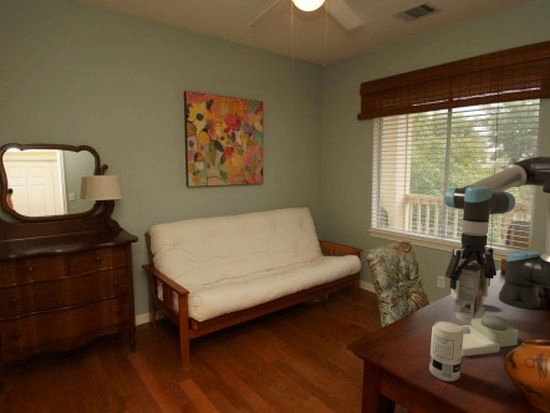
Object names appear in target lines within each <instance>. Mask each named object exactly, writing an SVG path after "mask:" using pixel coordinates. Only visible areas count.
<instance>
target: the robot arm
mask: <svg viewBox="0 0 550 413" xmlns="http://www.w3.org/2000/svg"><path fill="white" fill-rule="evenodd" d="M522 186H539V187H542V193H543V194H544V195H546V196H547V201H546V202H547V203H546V231H545V232H546V234H545V235H546V236H545V238H546V239H545V253H543V254H541V253H540V252H538V251H536V250H535V251H533V250H511V251H508V253H507V257H506V264H505V273H504V274H505V276H504V283H503V285H502V286H501V289H500V291H499V293H498V300H499V301H501V302H502V303H504V304H506V305H509V306H512V307H515V308H520V309H528V310H531V309H533V310H534V309H538V308H540V306H541V299H540V298H539V293H538V288H537V286H540V287H544V288H547V289H550V156H532V157H528V158H525V159H521V160H519V161H516V162H512V163H511V164H508V165H506V166H505V167H503V170H501V171H498V172H496V173H494V174H492V175H489V176H487V177H485V178H482V179H480V180H478V181H476V182H473V183H471V184H468V185H466V186H464V187H460V188H459V187H452V188H451V187H450V188H449V189H447V190H446V192H445V193H444V196H443V197H444V198H443V199H444V203H445V205H446V206H447V207H449V208H453V209H457V210H458V209H459V210H463V216H462V223H461V224H462V226H461V231H462V233H461V238H460V239H461V240H460V243H461V248H459V249H457V248H452V255H451V257H450V260H449V263H448V266H447V267H446V268H447V269H446V271H445V274H444V276H445V277H447V278H448V279H450V280H449V288H450V290H451V291H450V297H451V298H453V299H454V300H455V299H456V300H457V299H458V296H459V284H460V281H459V280H458V278H459V276H460V275H461V273H462V268H463V267H466V265H467V264H469V263H470V262H476V263H478V264H480V265H482V266H484V270H485V275H484V287H483V296H484V297H485V298H488V297H489V296H488V294H489V288H490V285H491V279H492V280H493V279H494V278H495V277H496V276H497V268H496V266H495V265H496V263H495V260H494V248H492V247H491V248H490V247H488V246H487V245H488V235H487V234H489V227H490V226H489V225H490V216H491V215H498V214H499V215H503V214H506V213H510V212H511V211H514V210H513V209H514V208H515V206H516V199H515V196H514V195H513V194H512V193H510V191H509V192H508V191H507V190H510V189H511V188H520V187H522ZM458 266H460V268H458Z"/></svg>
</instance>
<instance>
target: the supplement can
mask: <svg viewBox="0 0 550 413" xmlns="http://www.w3.org/2000/svg"><path fill="white" fill-rule="evenodd" d="M460 326H461V325H458V324H457V323H454V322H451V321H447V320H446V321H445V320H441V321H440V320H439V321H435V323H434V325H433V326H432V327H431V328H432V330H431V340H430V351H429V352H430V354H429V355H430V356H429V371H430V373H431V374H432V375H433V376H434V377H435V378H437V379H439V380H441V381H444V382H455V381H457V380H458V379H460V377H461V368H462V366H461V365H462V358H463V356H462V345H463V332H462V330H461V328H460Z"/></svg>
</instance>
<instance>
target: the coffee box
mask: <svg viewBox="0 0 550 413" xmlns="http://www.w3.org/2000/svg"><path fill="white" fill-rule="evenodd" d="M458 268H460V266H458ZM484 275H485V270H484V266H482V265H480V264H478V263H477V262H476V261H470V263H469V264H467V265H466V267H463V268H462V273H461V275H460V276H459V278H458V280H459V281H460V284H459V296H458V299H457V300H456V299H454V307H453V312H455V313H456V312H458V313H461V314H464V315H468V316H471V317H474V316H475V315H476V314H477V313H478V312H479V311H480V310H481V309H482V307H483V304H482V299H483V287H484Z"/></svg>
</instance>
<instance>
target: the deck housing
mask: <svg viewBox="0 0 550 413" xmlns="http://www.w3.org/2000/svg"><path fill="white" fill-rule="evenodd" d="M459 326H460V328H461V330H462V332H463V345H462V357H469V356H476V355H484V354H485V355H486V354H492V353H500V350H501V347H502V348H503V347H512V346H517V345H518V338H519V330H518V329H515V328H513V327H511V326H509V320H507V319H505V318H504V317H501V316H499V315H494V314H485V315H483V316H482V317H481V318H478V319H471V323H470V324H465V325H459Z"/></svg>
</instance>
